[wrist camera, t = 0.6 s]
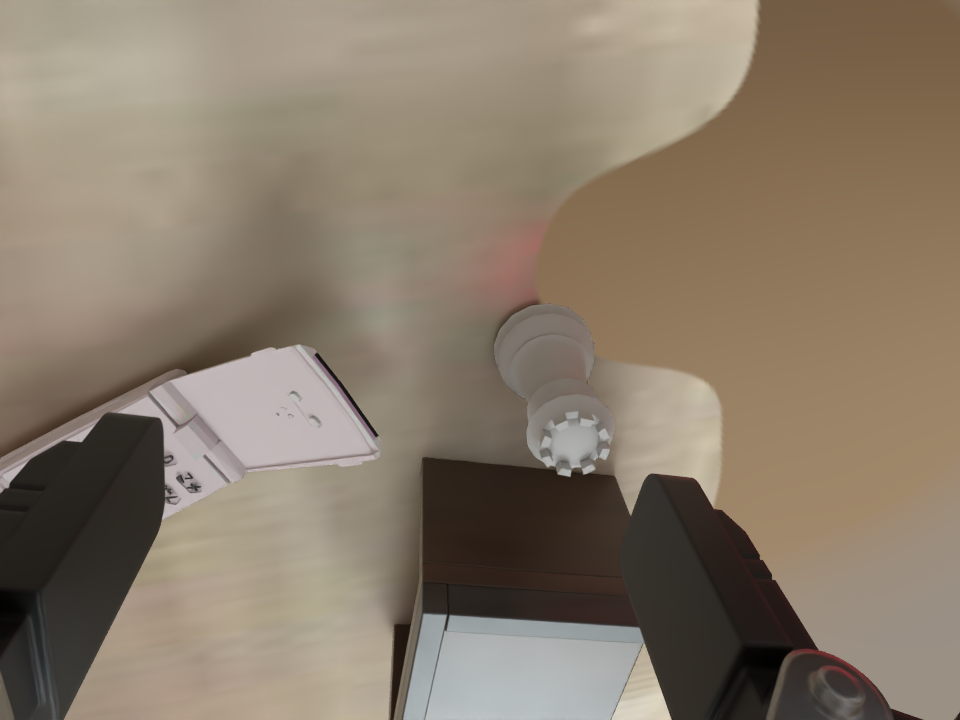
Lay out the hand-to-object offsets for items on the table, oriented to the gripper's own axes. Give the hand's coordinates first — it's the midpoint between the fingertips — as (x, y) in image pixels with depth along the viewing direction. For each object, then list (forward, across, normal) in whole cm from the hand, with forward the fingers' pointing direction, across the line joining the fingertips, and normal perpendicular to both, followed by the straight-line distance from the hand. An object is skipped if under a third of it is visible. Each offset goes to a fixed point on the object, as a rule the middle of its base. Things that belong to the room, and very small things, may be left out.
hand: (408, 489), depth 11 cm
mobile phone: (+19, +11, +14) cm, 26 cm away
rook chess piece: (+18, -6, +5) cm, 20 cm away
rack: (+19, -7, +19) cm, 27 cm away
